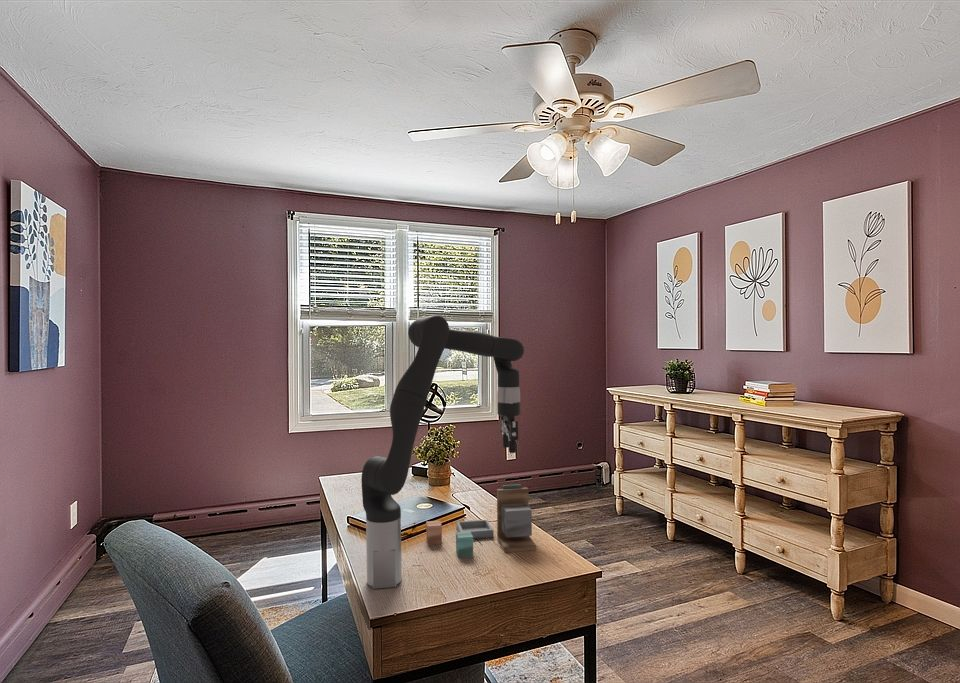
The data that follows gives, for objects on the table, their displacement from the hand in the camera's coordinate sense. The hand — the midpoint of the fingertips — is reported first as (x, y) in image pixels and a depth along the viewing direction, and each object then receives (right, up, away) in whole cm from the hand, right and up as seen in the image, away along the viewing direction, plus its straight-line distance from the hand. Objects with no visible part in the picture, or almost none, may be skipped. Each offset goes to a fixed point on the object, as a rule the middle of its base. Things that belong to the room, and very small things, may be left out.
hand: (509, 450), depth 186 cm
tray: (-11, -28, +3) cm, 31 cm away
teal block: (-14, -29, -15) cm, 35 cm away
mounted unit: (+2, -28, -8) cm, 29 cm away
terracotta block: (-24, -29, -4) cm, 38 cm away
